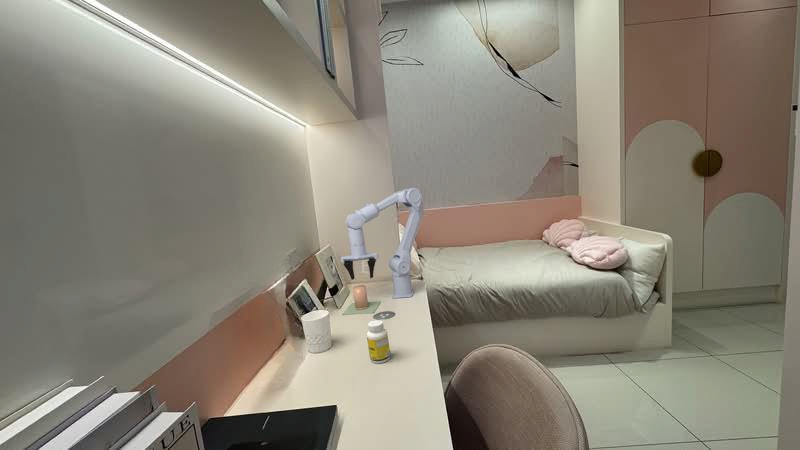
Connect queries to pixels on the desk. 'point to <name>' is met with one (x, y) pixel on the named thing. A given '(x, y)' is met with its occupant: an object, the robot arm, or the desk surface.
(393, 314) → the coaster
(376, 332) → the supplement bottle
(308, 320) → the white cup
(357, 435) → the desk surface
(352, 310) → the mat
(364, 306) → the terracotta cup
